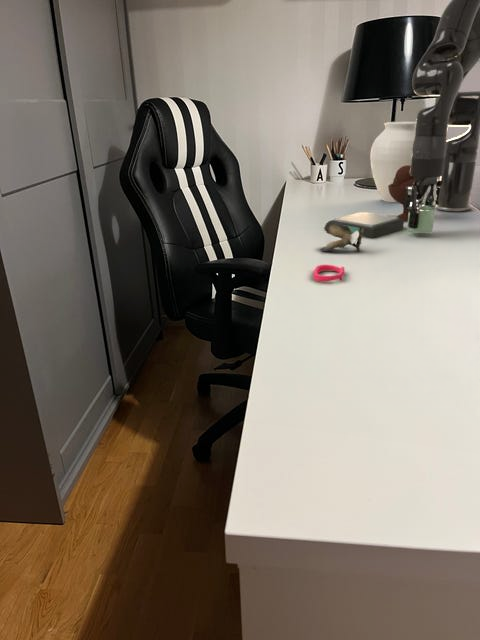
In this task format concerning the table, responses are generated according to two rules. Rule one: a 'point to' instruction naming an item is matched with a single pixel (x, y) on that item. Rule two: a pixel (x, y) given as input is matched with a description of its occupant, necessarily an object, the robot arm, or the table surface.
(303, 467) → the table surface
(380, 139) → the vase
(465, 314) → the table surface
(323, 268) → the fitness band
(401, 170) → the ice cream bowl
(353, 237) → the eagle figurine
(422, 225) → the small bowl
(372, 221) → the scale
